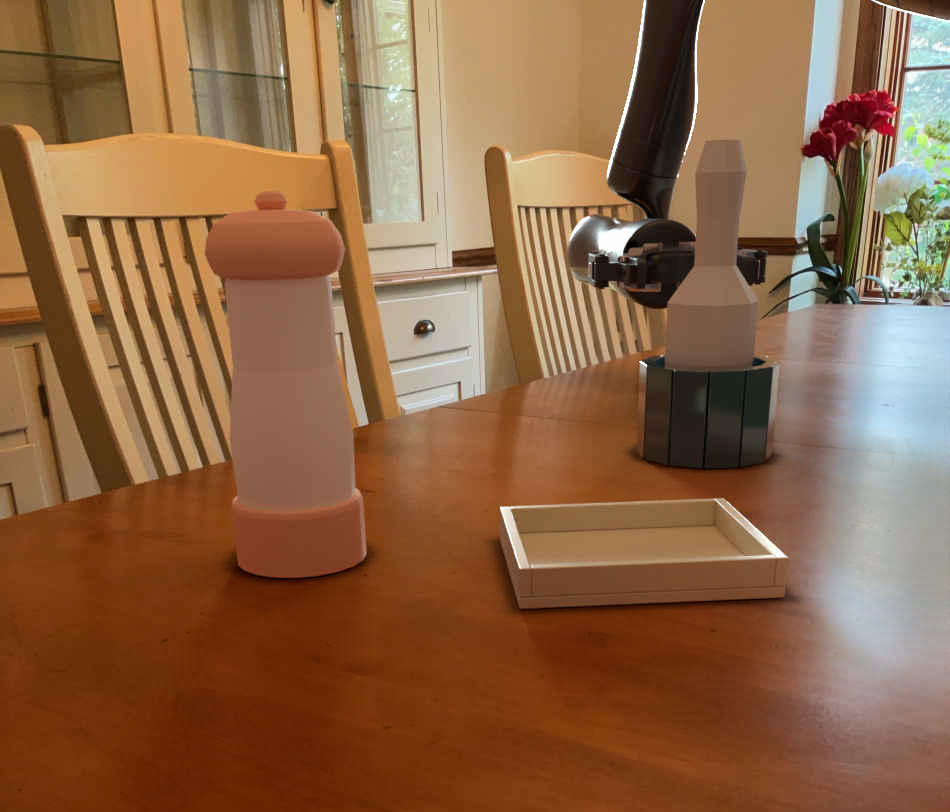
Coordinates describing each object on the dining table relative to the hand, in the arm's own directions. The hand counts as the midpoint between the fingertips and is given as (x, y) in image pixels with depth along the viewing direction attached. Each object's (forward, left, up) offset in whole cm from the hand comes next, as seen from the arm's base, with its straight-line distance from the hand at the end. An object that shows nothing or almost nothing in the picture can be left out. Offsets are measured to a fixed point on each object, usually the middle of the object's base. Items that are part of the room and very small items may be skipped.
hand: (696, 273), depth 81 cm
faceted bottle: (0, +5, -13) cm, 14 cm away
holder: (0, +5, -13) cm, 14 cm away
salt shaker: (+29, +27, -13) cm, 42 cm away
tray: (+11, +31, -13) cm, 36 cm away
